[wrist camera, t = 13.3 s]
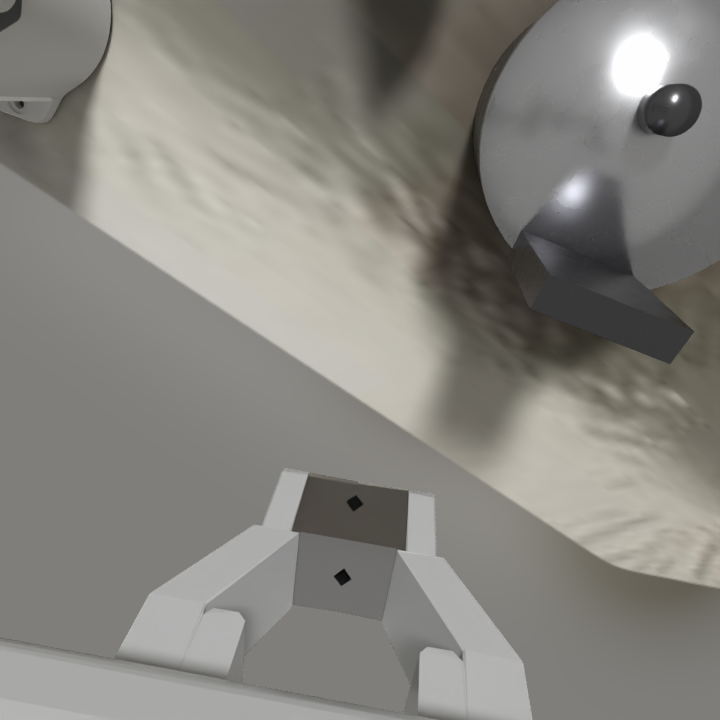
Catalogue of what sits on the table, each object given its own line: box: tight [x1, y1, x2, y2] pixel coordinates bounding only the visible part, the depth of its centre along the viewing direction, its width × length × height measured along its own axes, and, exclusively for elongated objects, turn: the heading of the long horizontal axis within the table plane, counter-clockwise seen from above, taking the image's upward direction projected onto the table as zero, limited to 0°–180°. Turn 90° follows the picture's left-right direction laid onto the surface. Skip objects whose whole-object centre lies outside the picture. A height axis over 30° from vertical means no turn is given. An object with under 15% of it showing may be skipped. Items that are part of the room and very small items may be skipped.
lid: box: [479, 0, 720, 364], centre depth 28 cm, size 18×18×10 cm
